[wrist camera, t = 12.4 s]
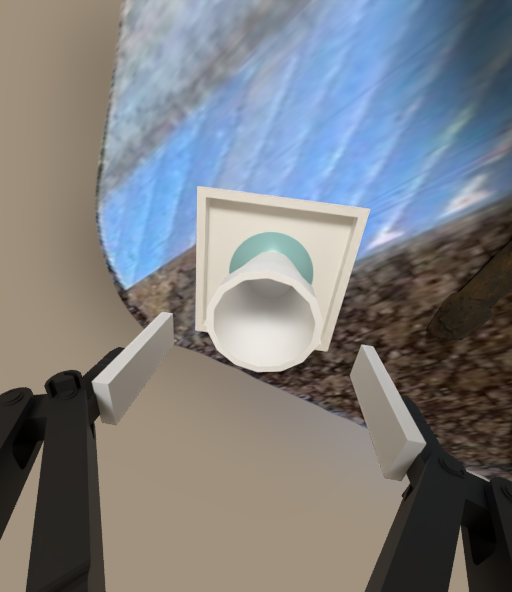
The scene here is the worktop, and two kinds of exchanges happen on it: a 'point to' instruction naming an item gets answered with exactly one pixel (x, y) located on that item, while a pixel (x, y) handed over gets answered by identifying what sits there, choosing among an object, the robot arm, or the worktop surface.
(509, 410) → the worktop surface
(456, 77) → the worktop surface
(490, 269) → the hand tool
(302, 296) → the foam cup
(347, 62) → the worktop surface
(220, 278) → the square white tray
